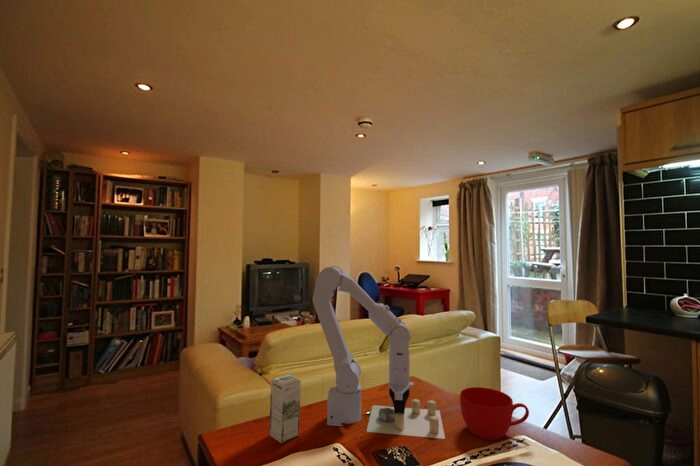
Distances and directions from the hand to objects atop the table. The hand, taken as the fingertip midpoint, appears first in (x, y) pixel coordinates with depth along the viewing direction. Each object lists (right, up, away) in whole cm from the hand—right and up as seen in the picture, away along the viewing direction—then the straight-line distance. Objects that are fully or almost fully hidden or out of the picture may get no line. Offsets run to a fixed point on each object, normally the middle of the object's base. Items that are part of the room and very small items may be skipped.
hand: (399, 416), depth 97 cm
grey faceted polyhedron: (-3, -1, +1) cm, 4 cm away
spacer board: (+2, -2, 0) cm, 3 cm away
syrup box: (-31, -2, -7) cm, 32 cm away
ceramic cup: (+24, -2, -7) cm, 25 cm away
